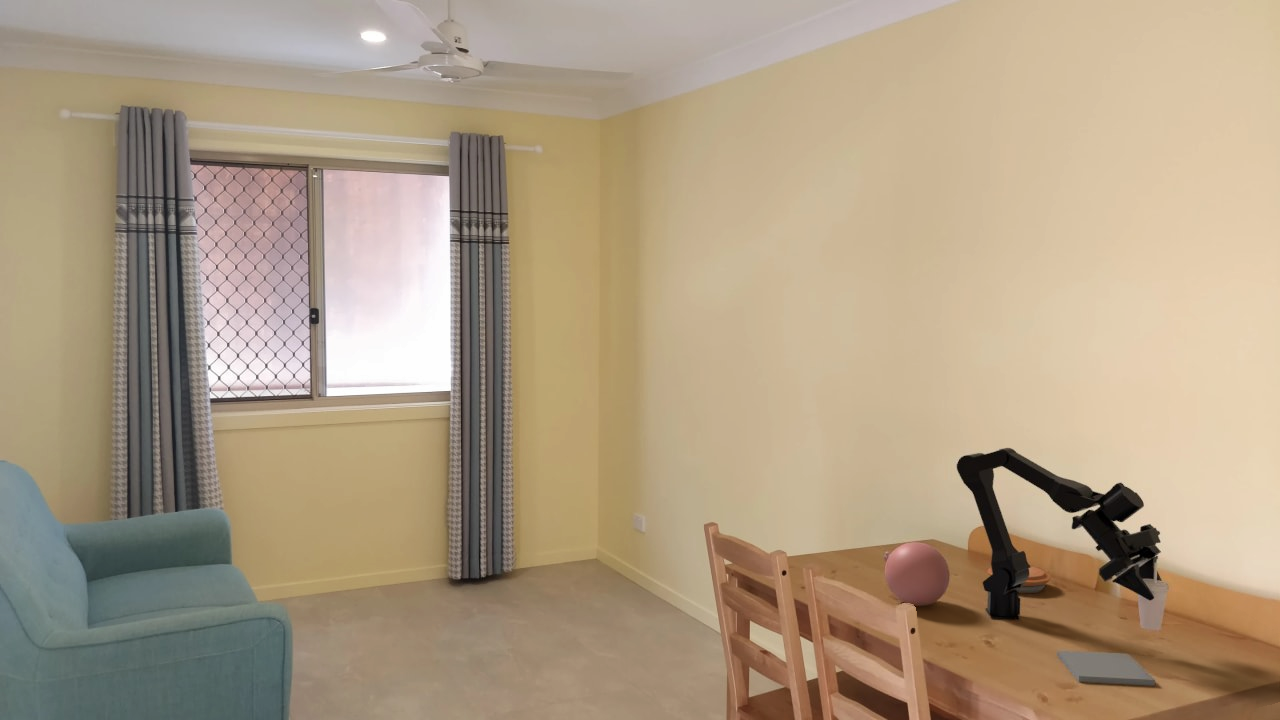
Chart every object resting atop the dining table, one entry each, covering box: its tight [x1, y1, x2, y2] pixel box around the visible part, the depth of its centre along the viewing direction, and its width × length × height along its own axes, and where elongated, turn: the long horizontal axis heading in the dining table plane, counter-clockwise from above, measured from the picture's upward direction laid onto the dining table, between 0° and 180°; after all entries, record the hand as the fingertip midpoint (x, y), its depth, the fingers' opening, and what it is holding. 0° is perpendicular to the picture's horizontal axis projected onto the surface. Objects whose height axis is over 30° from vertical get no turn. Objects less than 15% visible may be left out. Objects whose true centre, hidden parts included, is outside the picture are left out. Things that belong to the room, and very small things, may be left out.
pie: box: [987, 565, 1051, 594], centre depth 247 cm, size 15×16×5 cm
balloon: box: [883, 541, 951, 607], centre depth 234 cm, size 15×20×15 cm
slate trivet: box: [1056, 649, 1156, 687], centre depth 190 cm, size 14×14×1 cm
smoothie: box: [1136, 562, 1170, 632], centre depth 198 cm, size 6×6×14 cm
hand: (1158, 596), depth 197 cm, fingers closed on smoothie, 6 cm apart
